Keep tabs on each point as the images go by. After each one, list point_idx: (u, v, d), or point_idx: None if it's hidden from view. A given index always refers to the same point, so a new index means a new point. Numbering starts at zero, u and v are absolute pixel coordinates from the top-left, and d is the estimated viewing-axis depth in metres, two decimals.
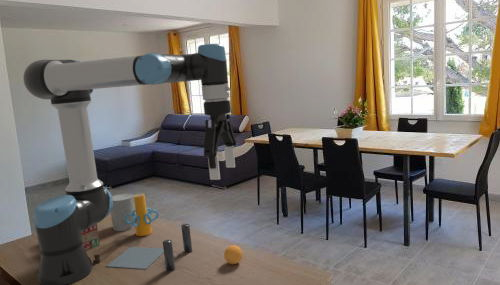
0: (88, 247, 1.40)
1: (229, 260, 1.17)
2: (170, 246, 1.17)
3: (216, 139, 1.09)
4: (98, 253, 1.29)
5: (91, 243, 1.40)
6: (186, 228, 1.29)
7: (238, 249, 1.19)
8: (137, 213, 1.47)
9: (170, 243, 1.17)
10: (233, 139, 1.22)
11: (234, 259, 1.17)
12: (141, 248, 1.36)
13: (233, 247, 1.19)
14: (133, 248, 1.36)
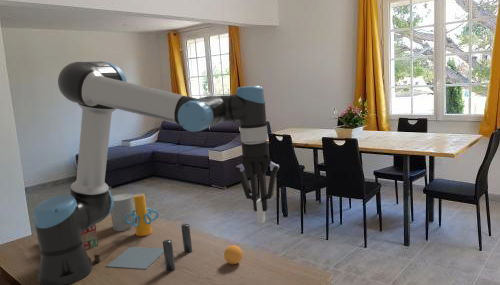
0: (87, 247, 1.39)
1: (229, 260, 1.17)
2: (170, 246, 1.17)
3: (265, 182, 1.14)
4: (98, 253, 1.29)
5: (90, 243, 1.40)
6: (186, 228, 1.29)
7: (238, 249, 1.19)
8: (137, 213, 1.47)
9: (170, 243, 1.17)
10: None
11: (234, 259, 1.17)
12: (141, 248, 1.36)
13: (233, 247, 1.19)
14: (133, 248, 1.36)
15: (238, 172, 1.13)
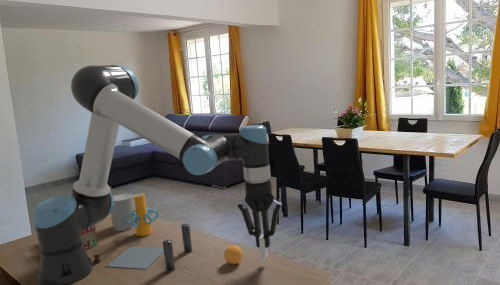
0: (86, 247, 1.39)
1: (229, 260, 1.17)
2: (170, 246, 1.17)
3: None
4: (98, 253, 1.29)
5: (89, 243, 1.40)
6: (186, 228, 1.29)
7: (238, 249, 1.19)
8: (137, 213, 1.47)
9: (170, 243, 1.17)
10: (253, 227, 1.17)
11: (234, 259, 1.17)
12: (141, 248, 1.36)
13: (233, 247, 1.19)
14: (133, 248, 1.36)
15: (241, 209, 1.15)
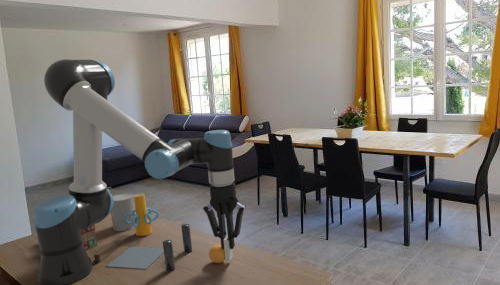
0: (85, 247, 1.39)
1: (216, 259, 1.19)
2: (170, 246, 1.17)
3: (232, 221, 1.19)
4: (98, 253, 1.29)
5: (88, 243, 1.40)
6: (186, 228, 1.29)
7: (213, 246, 1.21)
8: (137, 213, 1.47)
9: (170, 243, 1.17)
10: (219, 229, 1.21)
11: (217, 254, 1.18)
12: (141, 248, 1.36)
13: None
14: (133, 248, 1.36)
15: (206, 211, 1.18)
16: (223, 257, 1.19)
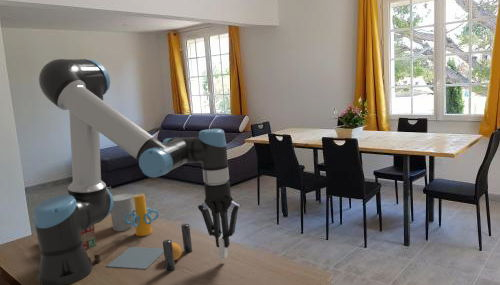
0: (85, 247, 1.39)
1: None
2: (170, 246, 1.17)
3: (227, 219, 1.19)
4: (98, 253, 1.29)
5: (88, 243, 1.40)
6: (186, 228, 1.29)
7: (173, 244, 1.24)
8: (137, 213, 1.47)
9: (170, 243, 1.17)
10: (214, 227, 1.21)
11: None
12: (141, 248, 1.36)
13: None
14: (133, 248, 1.36)
15: (201, 210, 1.18)
16: (175, 259, 1.24)
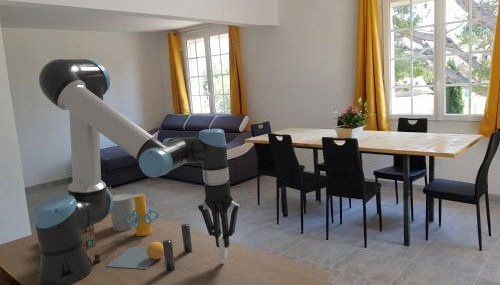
0: (84, 247, 1.39)
1: (152, 253, 1.24)
2: (170, 246, 1.17)
3: (227, 219, 1.19)
4: (98, 253, 1.29)
5: (87, 243, 1.40)
6: (186, 228, 1.29)
7: None
8: (137, 213, 1.47)
9: (170, 243, 1.17)
10: (214, 227, 1.21)
11: (148, 251, 1.25)
12: (141, 248, 1.36)
13: None
14: (133, 248, 1.36)
15: (201, 210, 1.18)
16: (154, 246, 1.25)
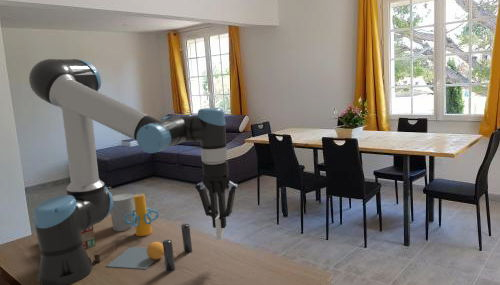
0: (84, 247, 1.40)
1: (152, 253, 1.24)
2: (170, 246, 1.17)
3: (224, 200, 1.18)
4: (98, 253, 1.29)
5: (87, 243, 1.40)
6: (186, 228, 1.29)
7: None
8: (137, 213, 1.47)
9: (170, 243, 1.17)
10: (211, 208, 1.20)
11: (148, 251, 1.25)
12: (141, 248, 1.36)
13: None
14: (133, 248, 1.36)
15: (198, 190, 1.17)
16: (154, 246, 1.25)
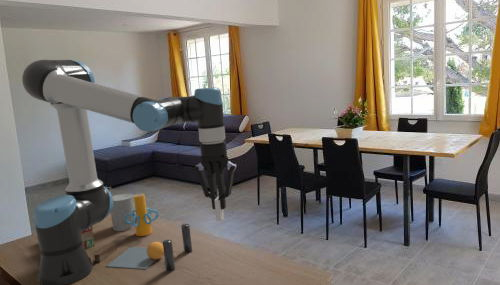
0: None
1: (152, 253, 1.24)
2: (170, 246, 1.17)
3: (223, 181, 1.17)
4: (98, 253, 1.29)
5: (86, 244, 1.40)
6: (186, 228, 1.29)
7: None
8: (137, 213, 1.47)
9: (170, 243, 1.17)
10: (210, 189, 1.19)
11: (148, 251, 1.25)
12: (141, 248, 1.36)
13: None
14: (133, 248, 1.36)
15: (197, 171, 1.16)
16: (154, 246, 1.25)
